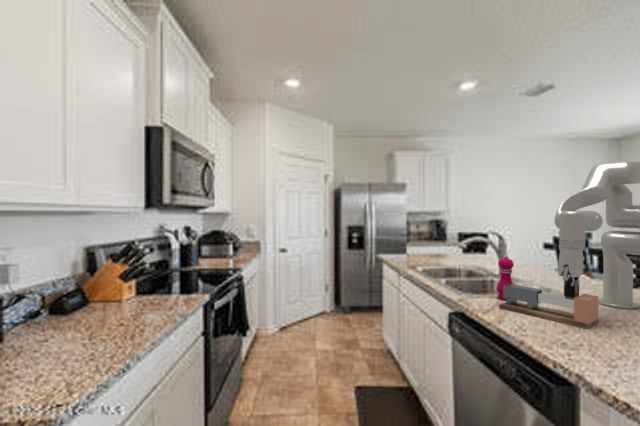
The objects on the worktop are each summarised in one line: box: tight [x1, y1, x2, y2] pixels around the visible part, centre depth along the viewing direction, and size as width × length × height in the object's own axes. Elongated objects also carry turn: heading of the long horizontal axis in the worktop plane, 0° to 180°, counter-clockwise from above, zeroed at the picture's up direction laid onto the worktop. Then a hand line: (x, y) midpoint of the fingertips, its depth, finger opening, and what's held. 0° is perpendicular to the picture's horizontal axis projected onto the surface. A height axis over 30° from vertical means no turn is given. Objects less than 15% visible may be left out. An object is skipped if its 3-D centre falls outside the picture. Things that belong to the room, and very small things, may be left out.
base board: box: [498, 301, 600, 329], centre depth 130 cm, size 11×30×2 cm, turn 35°
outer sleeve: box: [503, 283, 543, 310], centre depth 137 cm, size 5×12×8 cm, turn 35°
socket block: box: [573, 293, 599, 324], centre depth 119 cm, size 10×4×8 cm, turn 125°
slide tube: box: [537, 279, 578, 310], centre depth 126 cm, size 3×19×10 cm, turn 35°
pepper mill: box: [496, 254, 515, 301], centre depth 153 cm, size 7×7×20 cm
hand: (571, 295), depth 123 cm, fingers closed on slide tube, 3 cm apart
